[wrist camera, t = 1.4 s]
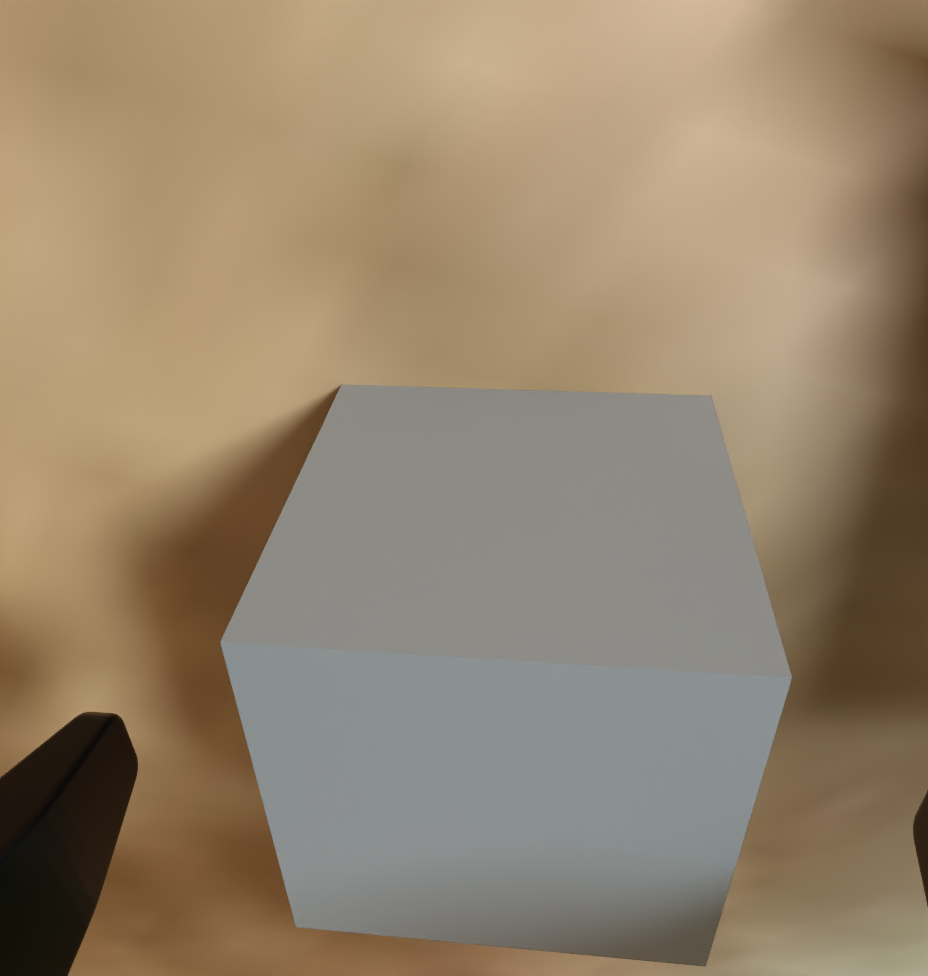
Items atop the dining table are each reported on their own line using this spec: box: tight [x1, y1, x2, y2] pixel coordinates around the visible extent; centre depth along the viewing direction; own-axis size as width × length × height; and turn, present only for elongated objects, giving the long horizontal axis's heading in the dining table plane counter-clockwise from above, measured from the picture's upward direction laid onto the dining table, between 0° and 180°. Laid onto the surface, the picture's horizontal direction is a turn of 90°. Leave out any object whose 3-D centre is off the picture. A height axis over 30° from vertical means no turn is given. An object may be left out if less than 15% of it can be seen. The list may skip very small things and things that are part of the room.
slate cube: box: [220, 385, 792, 966], centre depth 11 cm, size 5×5×5 cm
